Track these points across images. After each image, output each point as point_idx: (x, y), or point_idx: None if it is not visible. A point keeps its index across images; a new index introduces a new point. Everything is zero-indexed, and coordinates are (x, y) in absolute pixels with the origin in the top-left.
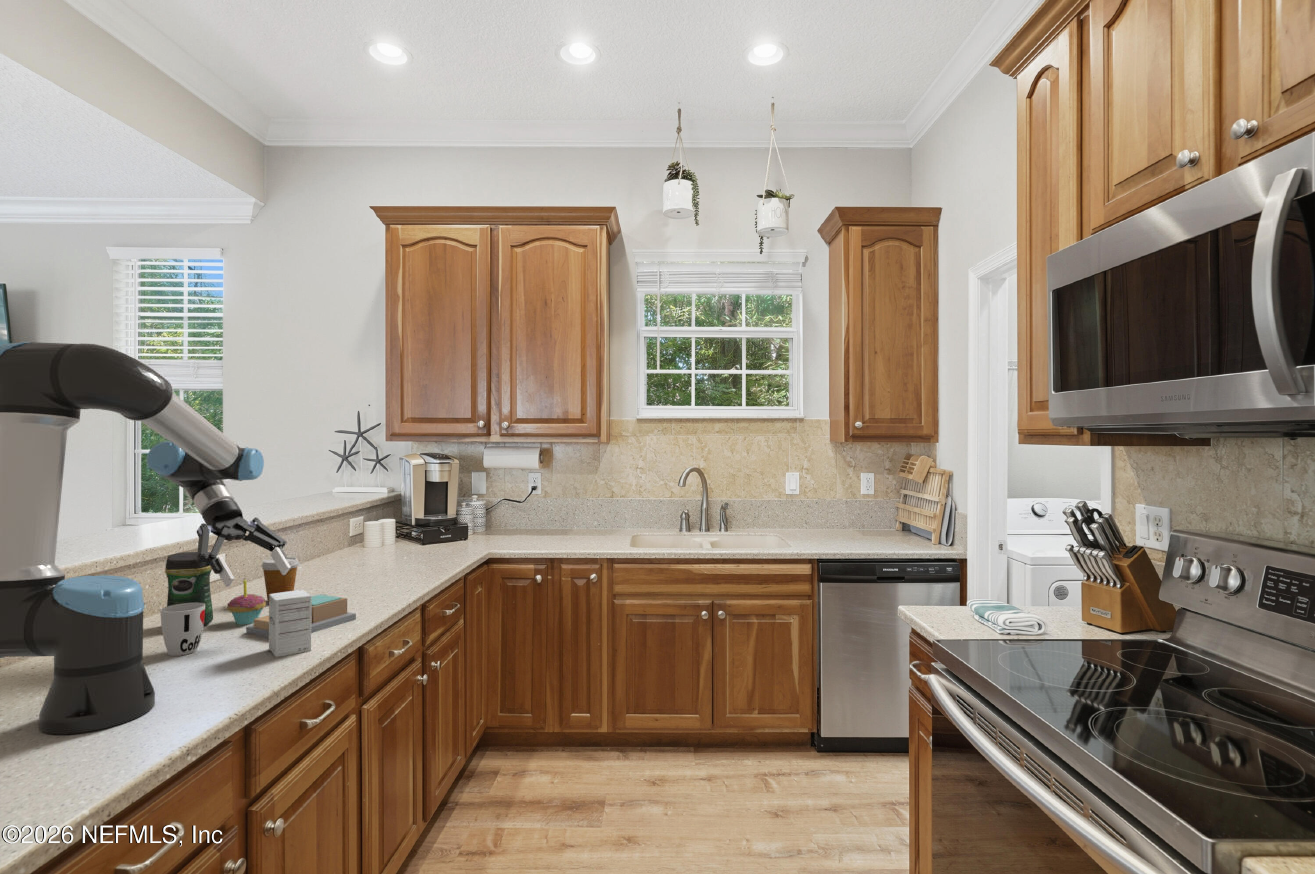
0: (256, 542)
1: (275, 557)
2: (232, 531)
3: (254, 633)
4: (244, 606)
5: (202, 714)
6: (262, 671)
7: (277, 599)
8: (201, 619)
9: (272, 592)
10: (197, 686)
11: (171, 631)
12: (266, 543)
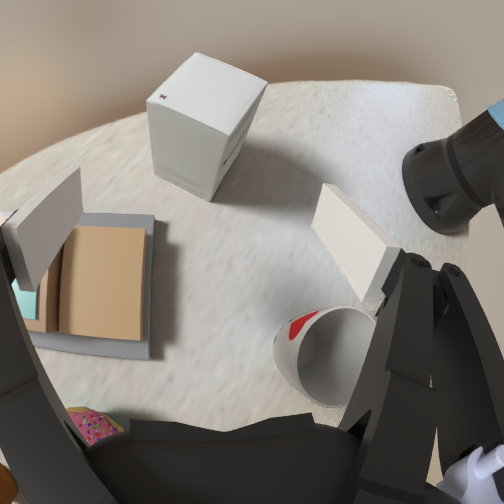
0: (42, 369)
1: (45, 244)
2: (291, 476)
3: (149, 328)
4: (110, 425)
5: (381, 103)
6: (289, 126)
7: (260, 83)
8: (306, 315)
9: (4, 487)
10: (361, 162)
11: (350, 330)
12: (12, 295)
